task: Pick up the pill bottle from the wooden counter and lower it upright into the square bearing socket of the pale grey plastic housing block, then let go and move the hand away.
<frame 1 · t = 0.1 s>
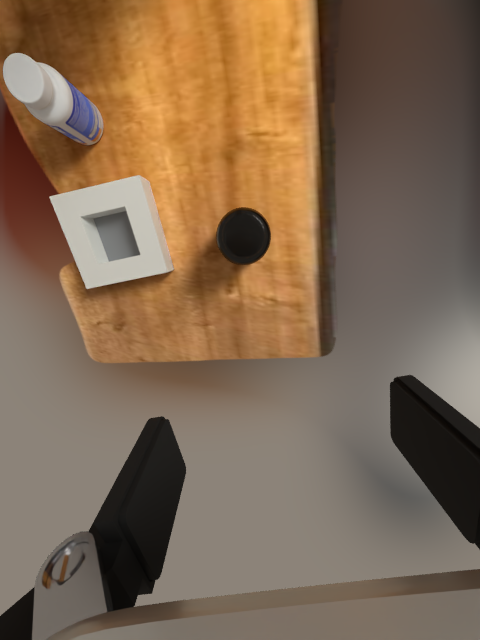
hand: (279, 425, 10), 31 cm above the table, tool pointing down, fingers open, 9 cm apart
pill bottle: (86, 124, 33), on the table
housing: (122, 236, 37), on the table
supplement bottle: (243, 238, 37), on the table
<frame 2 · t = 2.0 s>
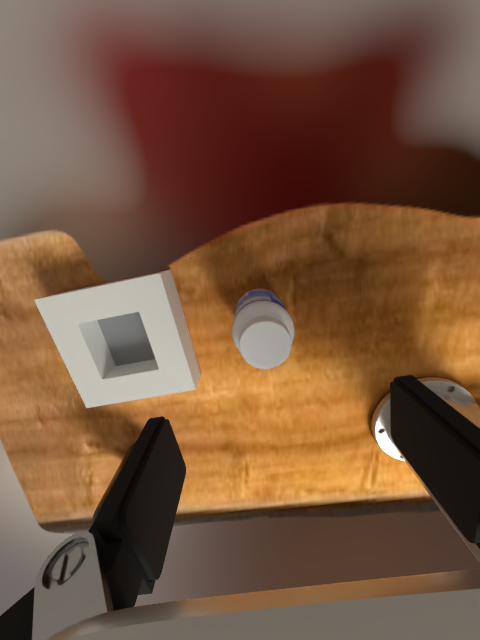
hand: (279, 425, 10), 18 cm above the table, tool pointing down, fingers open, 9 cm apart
pill bottle: (258, 310, 27), on the table
housing: (134, 334, 28), on the table
supplement bottle: (151, 456, 34), on the table
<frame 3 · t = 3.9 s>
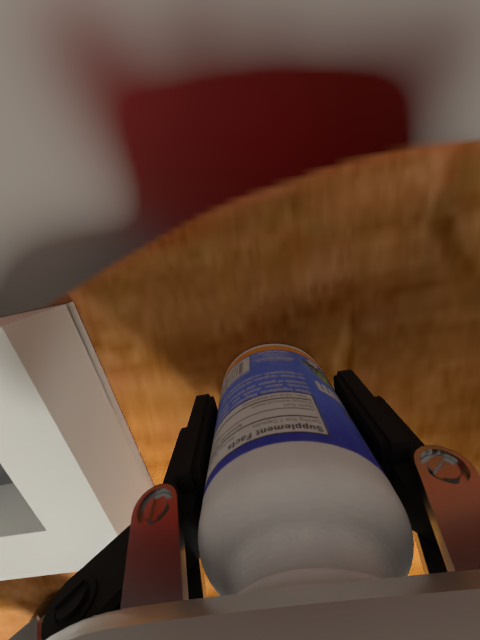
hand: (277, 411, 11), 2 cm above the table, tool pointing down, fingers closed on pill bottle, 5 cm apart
pill bottle: (271, 384, 13), on the table, touching gripper
housing: (16, 430, 14), on the table
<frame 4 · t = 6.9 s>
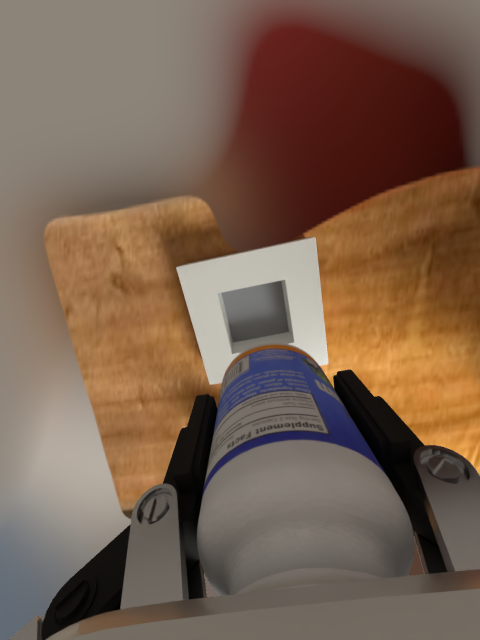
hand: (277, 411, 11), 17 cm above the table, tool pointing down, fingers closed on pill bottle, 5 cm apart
pill bottle: (271, 383, 13), point 15 cm above the table, touching gripper
housing: (255, 309, 27), on the table
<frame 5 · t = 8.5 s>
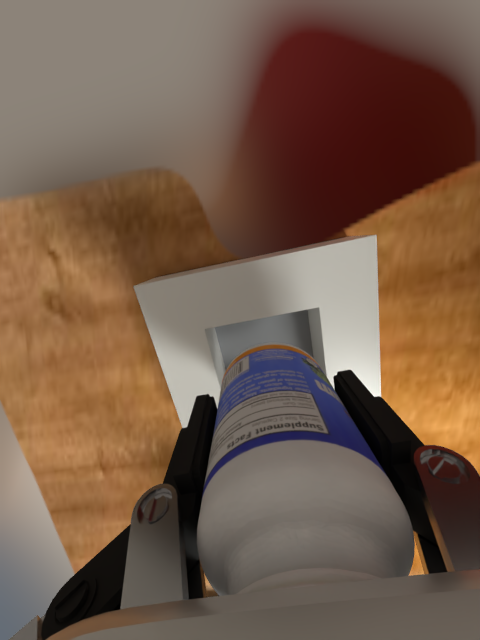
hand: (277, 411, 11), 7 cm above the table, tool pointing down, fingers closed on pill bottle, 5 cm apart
pill bottle: (271, 383, 13), point 5 cm above the table, touching gripper
housing: (265, 345, 18), on the table
when the fingers open (5 cm above the table, at t = 9.9 s): pill bottle drops 2 cm, resting on housing.
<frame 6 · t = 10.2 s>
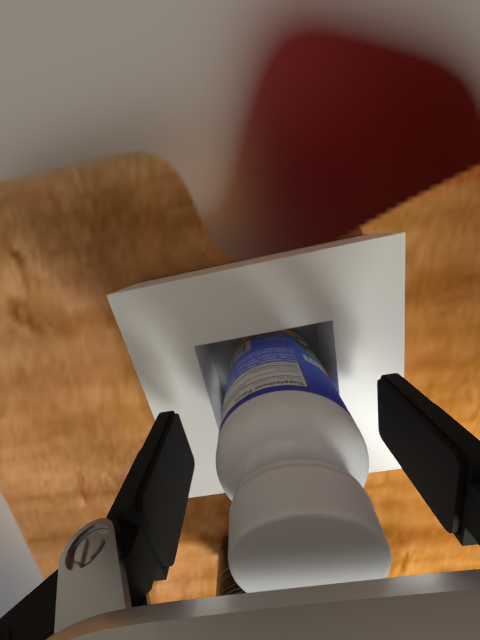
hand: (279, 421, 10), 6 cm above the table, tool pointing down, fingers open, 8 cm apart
pill bottle: (271, 363, 15), resting on housing
housing: (266, 359, 15), on the table
supplement bottle: (257, 544, 22), on the table
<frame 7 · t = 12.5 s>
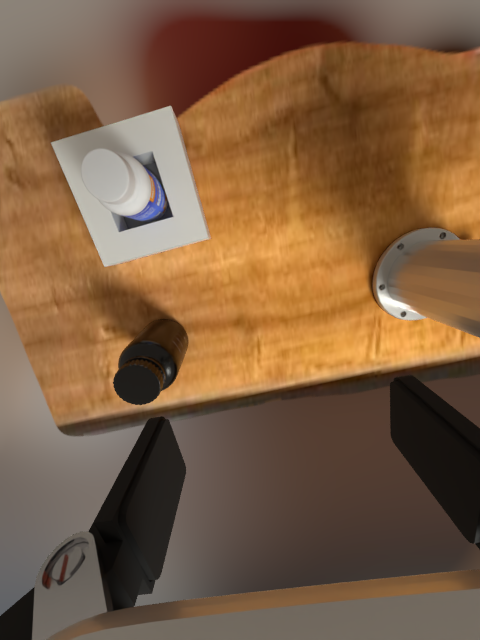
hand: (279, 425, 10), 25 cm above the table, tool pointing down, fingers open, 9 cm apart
pill bottle: (147, 199, 29), resting on housing
housing: (145, 199, 29), on the table
supplement bottle: (167, 339, 35), on the table
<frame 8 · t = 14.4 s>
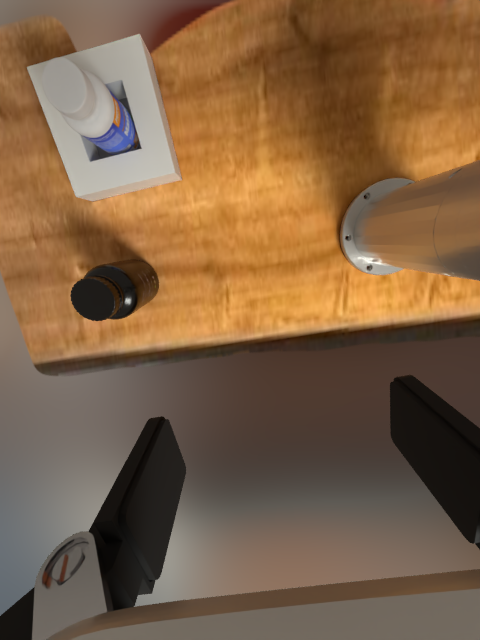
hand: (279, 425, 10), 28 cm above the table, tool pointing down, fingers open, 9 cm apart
pill bottle: (120, 135, 30), resting on housing
housing: (120, 135, 31), on the table
supplement bottle: (139, 281, 37), on the table
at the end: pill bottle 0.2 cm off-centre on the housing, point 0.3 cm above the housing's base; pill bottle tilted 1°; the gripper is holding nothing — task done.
